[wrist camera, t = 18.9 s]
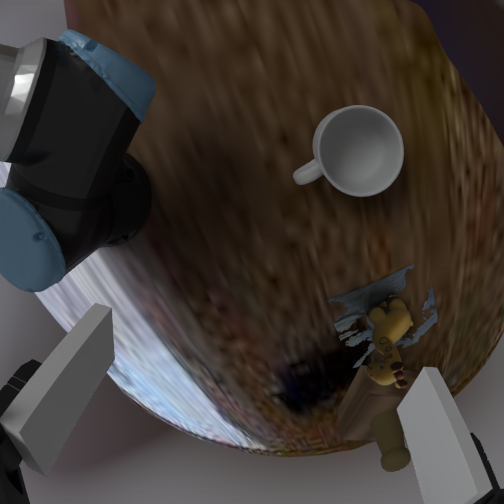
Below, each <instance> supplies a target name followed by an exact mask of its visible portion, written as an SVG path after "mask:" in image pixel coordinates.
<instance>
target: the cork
mask: <svg viewBox="0 0 504 504" xmlns="http://www.w3.org/2000/svg"><path fill="white" fill-rule="evenodd" d="M370 427H371V430H372V432H373V434H374V437H375V439H376V441H377V444H378V446H379V449H380V451H381V453H382V457H381V466H382V468H383V469H384V470H386V471H389V472H393V471H398V470H400V469H402V468H404V467H406V465H408V464H409V462H410V459H411V454H410V452H409V450H408V449H407V448H405V443H404V436H403V429H402V424H401V421H400V418H399V415H398V412H397V411H396V410H389V411H384V412H381V413H379V414H378V415H376V416H375V417H373V419H372V420H371V421H370Z"/></svg>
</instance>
